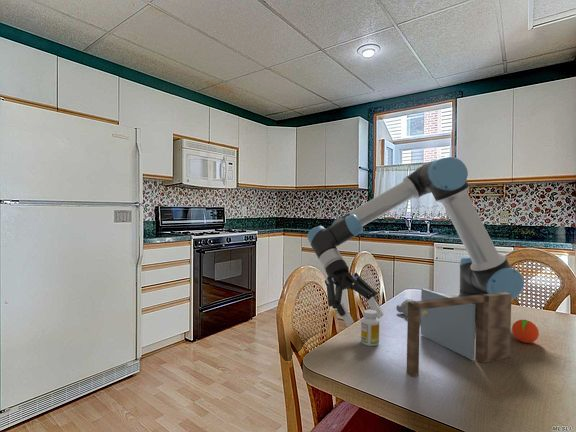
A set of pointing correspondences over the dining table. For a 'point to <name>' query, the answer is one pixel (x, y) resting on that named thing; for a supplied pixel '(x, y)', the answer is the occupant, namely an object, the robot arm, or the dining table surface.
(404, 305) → the mineral specimen
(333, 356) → the dining table surface
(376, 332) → the supplement bottle
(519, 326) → the clementine
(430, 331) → the door
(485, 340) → the door frame
